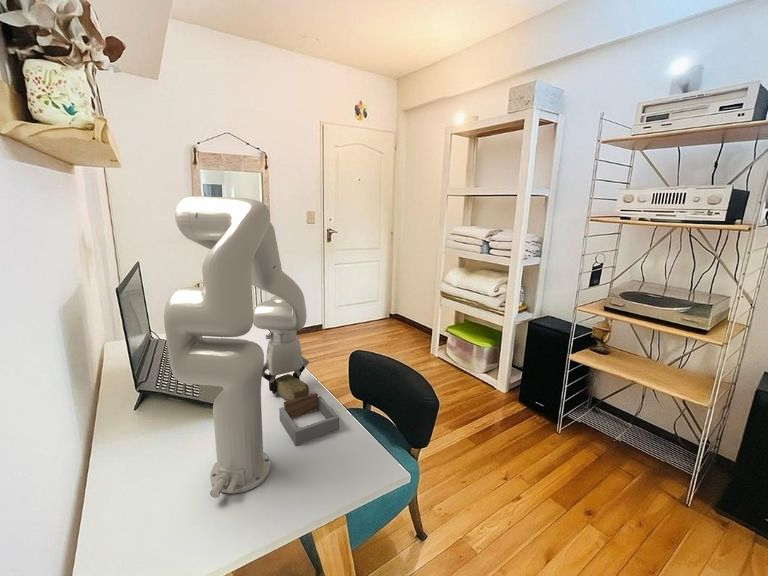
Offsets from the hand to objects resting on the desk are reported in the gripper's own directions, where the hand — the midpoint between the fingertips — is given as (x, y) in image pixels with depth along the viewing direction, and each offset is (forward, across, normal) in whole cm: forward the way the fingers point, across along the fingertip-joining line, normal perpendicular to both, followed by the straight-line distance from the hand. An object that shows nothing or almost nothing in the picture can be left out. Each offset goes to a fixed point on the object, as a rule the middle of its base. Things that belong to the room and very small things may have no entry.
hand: (284, 388), depth 112 cm
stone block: (+1, +1, -4) cm, 4 cm away
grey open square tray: (+2, 0, -19) cm, 19 cm away
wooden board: (+2, 0, -13) cm, 13 cm away
